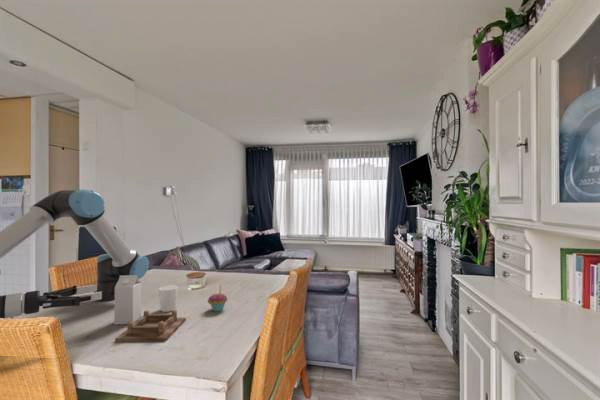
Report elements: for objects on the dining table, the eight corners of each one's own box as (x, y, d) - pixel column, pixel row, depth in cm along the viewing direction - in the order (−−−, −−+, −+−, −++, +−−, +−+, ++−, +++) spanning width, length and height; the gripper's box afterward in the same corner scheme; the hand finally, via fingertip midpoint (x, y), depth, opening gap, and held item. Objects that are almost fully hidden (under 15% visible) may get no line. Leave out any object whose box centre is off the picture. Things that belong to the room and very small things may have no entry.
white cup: (170, 313, 126) (170, 290, 127) (155, 311, 128) (155, 289, 128) (181, 306, 134) (181, 285, 134) (166, 305, 136) (166, 284, 136)
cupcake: (230, 307, 133) (230, 281, 133) (219, 314, 125) (219, 286, 125) (215, 305, 136) (215, 280, 136) (203, 311, 128) (203, 285, 128)
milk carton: (123, 318, 121) (124, 273, 121) (141, 317, 122) (141, 273, 122) (114, 325, 114) (114, 277, 114) (132, 324, 115) (133, 277, 115)
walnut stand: (142, 320, 118) (142, 308, 118) (185, 320, 118) (185, 307, 118) (115, 341, 100) (115, 326, 100) (166, 341, 100) (166, 326, 100)
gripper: (25, 305, 106) (94, 294, 120) (21, 325, 88) (103, 309, 102) (26, 285, 106) (95, 276, 121) (22, 301, 88) (104, 288, 102)
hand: (99, 291), depth 111 cm, fingers open, 13 cm apart
